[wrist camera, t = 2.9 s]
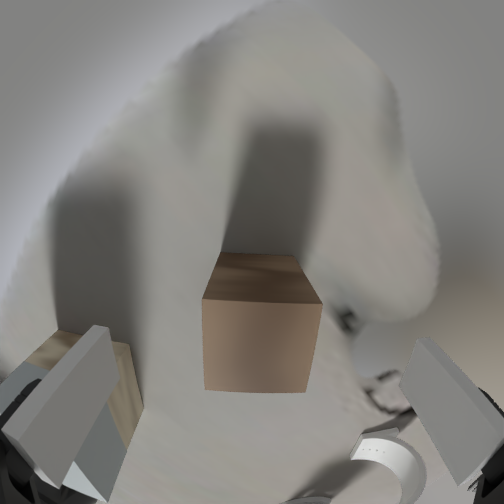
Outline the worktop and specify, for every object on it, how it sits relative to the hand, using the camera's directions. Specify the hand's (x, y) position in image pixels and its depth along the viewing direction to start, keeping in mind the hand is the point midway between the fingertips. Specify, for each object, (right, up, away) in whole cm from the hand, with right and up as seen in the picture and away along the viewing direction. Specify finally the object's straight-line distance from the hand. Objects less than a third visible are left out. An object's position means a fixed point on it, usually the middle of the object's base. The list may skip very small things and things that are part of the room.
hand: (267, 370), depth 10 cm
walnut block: (0, +2, +9) cm, 10 cm away
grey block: (-15, -8, +6) cm, 18 cm away
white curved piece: (+14, -18, +15) cm, 27 cm away
